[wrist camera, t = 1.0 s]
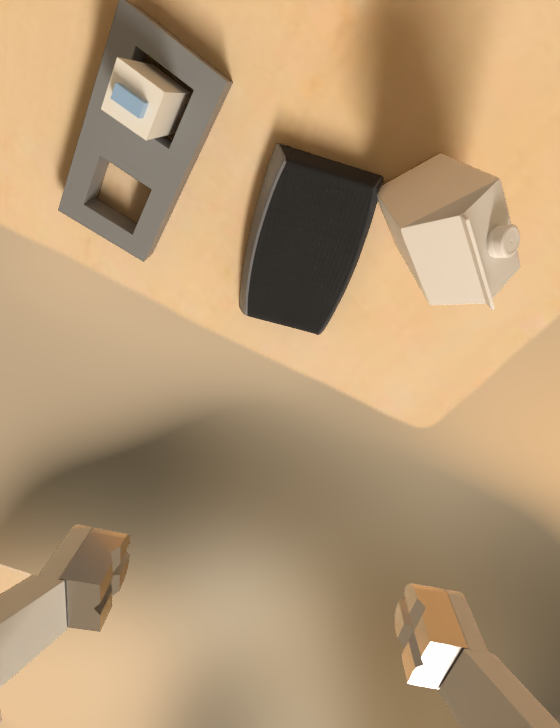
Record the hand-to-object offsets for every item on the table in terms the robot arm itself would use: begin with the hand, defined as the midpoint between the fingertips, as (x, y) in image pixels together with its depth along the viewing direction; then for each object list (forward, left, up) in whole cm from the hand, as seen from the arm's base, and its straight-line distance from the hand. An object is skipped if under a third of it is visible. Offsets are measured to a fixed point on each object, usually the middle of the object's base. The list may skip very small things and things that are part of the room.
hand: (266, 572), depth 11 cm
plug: (-2, -18, -39) cm, 43 cm away
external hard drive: (+3, +2, -40) cm, 40 cm away
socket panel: (+3, -18, -39) cm, 43 cm away
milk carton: (-9, +9, -39) cm, 41 cm away
